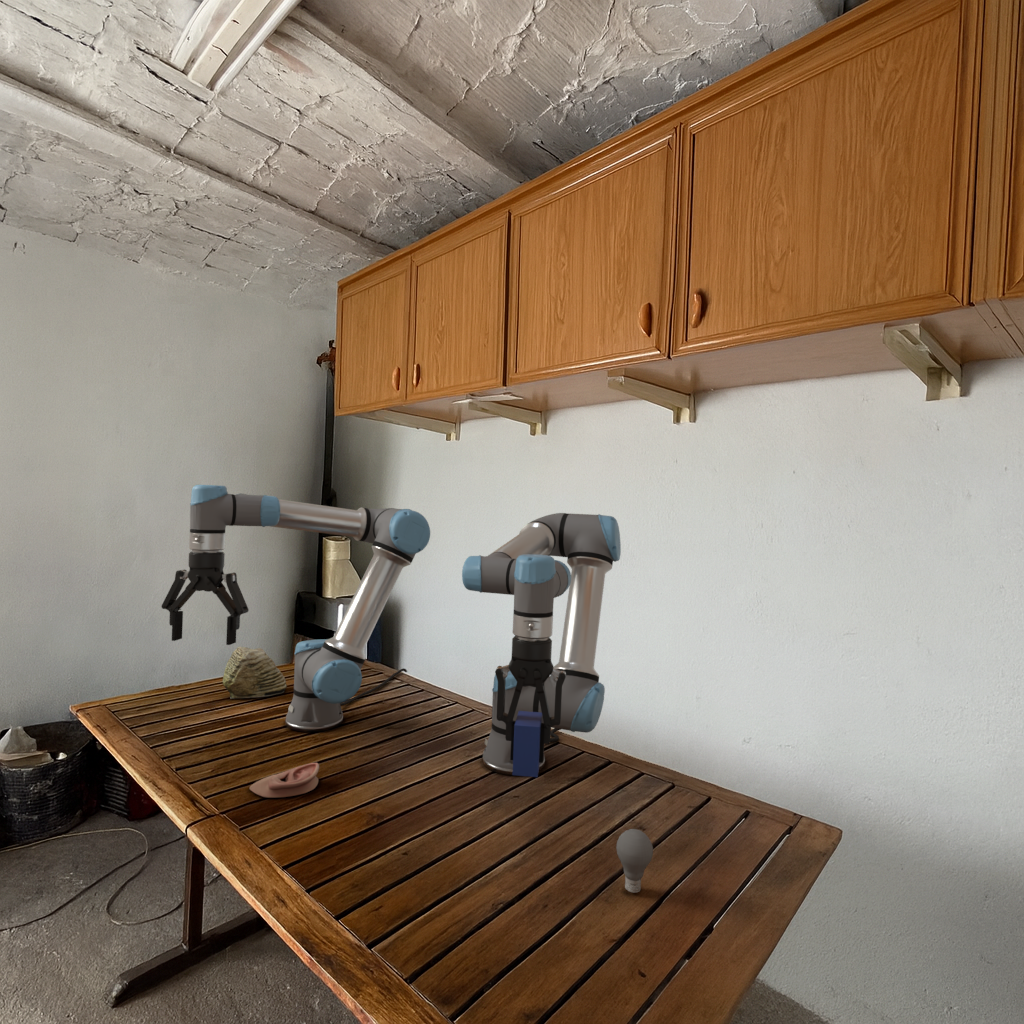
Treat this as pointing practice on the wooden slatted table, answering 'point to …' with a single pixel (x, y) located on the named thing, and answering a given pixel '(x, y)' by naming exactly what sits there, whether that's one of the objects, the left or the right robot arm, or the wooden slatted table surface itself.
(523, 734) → the brick
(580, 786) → the wooden slatted table surface
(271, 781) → the anatomical model
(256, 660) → the fossil
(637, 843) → the light bulb
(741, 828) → the wooden slatted table surface
